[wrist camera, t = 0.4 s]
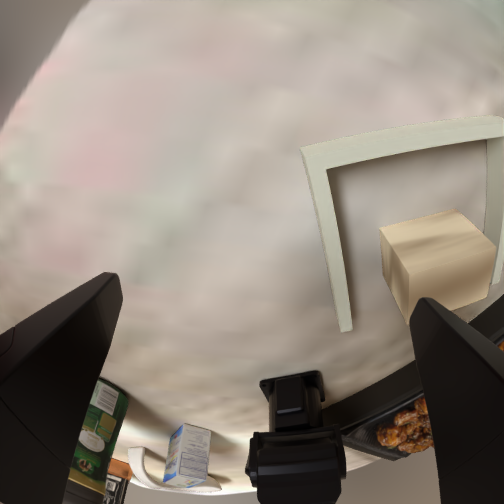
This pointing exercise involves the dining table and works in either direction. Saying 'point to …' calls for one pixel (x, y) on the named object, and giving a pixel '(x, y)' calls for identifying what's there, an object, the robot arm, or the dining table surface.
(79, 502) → the coffee jar
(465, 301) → the block
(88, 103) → the dining table surface
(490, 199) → the open square frame
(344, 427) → the food platter
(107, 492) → the whiskey bottle
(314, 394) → the robot arm
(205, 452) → the medicine box
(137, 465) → the spoon rest
